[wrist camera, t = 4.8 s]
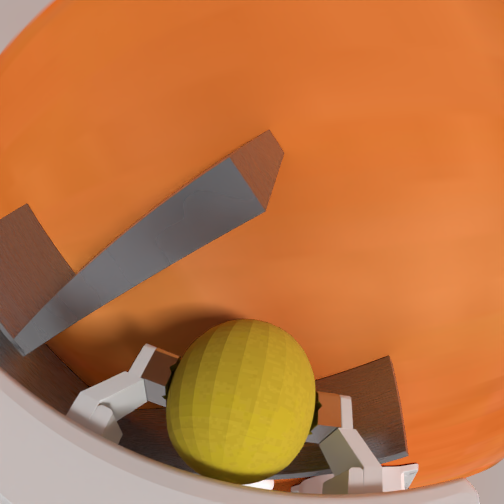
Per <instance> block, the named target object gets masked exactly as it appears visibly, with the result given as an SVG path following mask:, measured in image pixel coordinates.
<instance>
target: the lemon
mask: <svg viewBox="0 0 504 504" xmlns="http://www.w3.org/2000/svg"><path fill="white" fill-rule="evenodd" d="M314 409H315V379H314V374H313V370H312V367H311V365H310V362H309V360H308V358H307V356H306V354H305V352H304V350H303V349H302V347H301V346H300V345H299V344H298V343H297V341H296V340H295V339H294V338H293V337H292V336H291V335H290V334H288V333H287V332H285V331H284V330H282V329H281V328H280V327H277V326H275V325H273V324H270V323H268V322H264V321H259V320H254V319H239V320H232V321H227V322H224V323H222V324H219V325H217V326H214V327H212V328H210V329H209V330H208V331H206V332H205V333H204V334H202V335H201V336H200V337H199V338H197V339H196V340H195V341H194V342H193V343H192V344H191V345H190V347H189V348H188V349H187V351H186V352H185V354H184V356H183V357H182V359H181V361H180V362H179V364H178V366H177V368H176V370H175V372H174V375H173V377H172V380H171V384H170V387H169V392H168V398H167V407H166V419H167V430H168V434H169V438H170V440H171V442H172V445H173V447H174V448H175V450H176V451H177V453H178V454H179V456H180V457H181V458H182V460H183V461H184V462H185V463H186V464H187V465H188V466H189V467H190V468H192V469H193V470H194V471H195V472H197V473H198V474H200V475H201V476H205V477H209V478H213V479H217V480H221V481H225V482H230V483H234V484H239V485H245V484H252V483H256V482H260V481H262V480H265V479H267V478H270V477H272V476H274V475H275V474H277V473H279V472H281V471H282V470H283V469H284V468H286V467H287V466H288V465H289V464H290V463H291V462H292V461H293V460H294V458H295V457H296V456H297V455H298V453H299V452H300V450H301V449H302V447H303V445H304V443H305V441H306V439H307V436H308V434H309V431H310V428H311V424H312V421H313V416H314Z"/></svg>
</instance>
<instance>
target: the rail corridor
mask: <svg viewBox="0 0 504 504" xmlns="http://www.w3.org/2000/svg"><path fill="white" fill-rule="evenodd" d="M283 155H284V152H283V150H282V149H281V147H280V146H279V144H278V142H277V141H276V139H275V138H274V136H273V135H272V133H271V132H270V130H268V131H266V132H264V133H263V134H261V135H259V136H258V137H256V138H255V139H253V140H251V141H250V142H248V143H246V144H245V145H243V146H242V147H240V148H239V149H237V150H235V151H234V152H232V153H231V154H229V155H228V156H226V157H225V158H223V159H222V160H220V161H219V162H217V163H216V164H214V165H213V166H211V167H210V168H208V169H207V170H205V171H204V172H202V173H201V174H199V175H198V176H197V177H195V178H194V179H192V180H191V181H189V182H188V183H187V184H185V185H184V186H182V187H181V188H180V189H178V190H177V191H176V192H174V193H173V194H171V195H170V196H169V197H167V198H166V199H165V200H163V201H162V202H161V203H159V204H158V205H157V206H156V207H154V208H153V209H152V210H150V211H149V212H148V213H146V214H145V215H144V216H143V217H141V218H140V219H139V220H138V221H136V222H135V223H134V224H133V225H131V226H130V227H129V228H128V229H127V230H125V231H124V232H123V233H122V234H120V235H119V236H118V237H117V238H116V239H115V240H113V241H112V242H111V243H110V244H109V245H107V246H106V247H105V248H104V249H103V250H102V251H101V252H99V253H98V254H97V255H96V256H95V257H94V258H93V259H92V260H90V261H89V262H88V263H87V264H86V265H85V266H84V267H83V268H82V269H81V270H79V271H78V272H77V273H76V274H75V273H74V272H73V270H72V269H71V268H70V266H69V265H68V264H67V262H66V261H65V260H64V258H63V257H62V256H61V254H60V253H59V252H58V250H57V249H56V247H55V246H54V244H53V243H52V242H51V240H50V239H49V237H48V236H47V234H46V233H45V231H44V230H43V228H42V227H41V225H40V223H39V222H38V220H37V219H36V217H35V216H34V214H33V212H32V211H31V209H30V207H29V206H28V204H25V205H23V206H22V207H20V208H18V209H17V210H15V211H13V212H12V213H10V214H8V215H7V216H5V217H3V218H2V219H0V367H1V368H2V369H3V370H5V371H6V372H7V373H8V374H9V375H10V376H12V377H13V378H14V379H15V380H16V381H18V382H19V383H20V384H21V385H23V386H24V387H25V388H27V389H28V390H29V391H30V392H32V393H33V394H34V395H36V396H37V397H39V398H40V399H41V400H43V401H44V402H46V403H47V404H48V405H50V406H51V407H53V408H54V409H56V410H57V411H59V412H61V413H62V414H64V415H65V416H66V414H67V413H68V411H69V409H70V408H71V406H72V405H73V403H74V401H75V400H76V398H77V397H78V395H79V393H80V392H81V391H83V390H86V389H88V388H90V387H89V386H87V385H86V384H85V383H84V382H83V381H82V380H81V379H80V378H79V377H77V376H76V375H75V374H74V373H73V372H72V371H71V370H70V369H69V368H68V367H67V366H66V365H65V364H64V363H63V362H62V361H61V360H60V359H59V358H58V357H57V356H56V355H55V354H54V353H53V352H52V351H51V350H50V349H49V348H48V346H47V345H46V344H45V342H46V341H48V340H49V339H51V338H52V337H54V336H55V335H57V334H59V333H60V332H62V331H63V330H65V329H66V328H68V327H70V326H71V325H73V324H74V323H76V322H77V321H79V320H81V319H82V318H84V317H85V316H87V315H89V314H90V313H92V312H93V311H95V310H97V309H98V308H100V307H101V306H103V305H105V304H106V303H108V302H109V301H111V300H113V299H114V298H116V297H118V296H119V295H121V294H123V293H124V292H126V291H128V290H129V289H131V288H132V287H134V286H136V285H137V284H139V283H141V282H142V281H144V280H146V279H148V278H149V277H151V276H153V275H154V274H156V273H158V272H159V271H161V270H163V269H164V268H166V267H168V266H170V265H171V264H173V263H175V262H176V261H178V260H180V259H182V258H183V257H185V256H187V255H188V254H190V253H192V252H194V251H195V250H197V249H199V248H201V247H202V246H204V245H206V244H208V243H209V242H211V241H213V240H215V239H216V238H218V237H220V236H222V235H224V234H225V233H227V232H229V231H231V230H232V229H234V228H236V227H238V226H240V225H241V224H243V223H245V222H247V221H249V220H250V219H252V218H254V217H256V216H258V215H260V214H261V213H263V212H265V211H266V208H267V205H268V202H269V199H270V196H271V193H272V189H273V186H274V183H275V180H276V177H277V174H278V171H279V168H280V165H281V162H282V159H283ZM316 391H320V392H327V393H334V394H338V395H346V396H350V397H351V402H352V418H353V429H356V430H357V431H358V433H359V434H360V436H361V437H362V439H363V440H364V442H365V443H366V444H367V446H368V447H369V449H370V450H371V452H372V453H373V455H374V456H375V457H376V459H377V460H378V462H379V463H380V464H382V463H386V462H389V461H393V460H396V459H400V458H403V457H406V456H408V448H407V440H406V433H405V426H404V420H403V414H402V408H401V403H400V397H399V392H398V387H397V382H396V377H395V373H394V368H393V364H392V362H391V359H390V357H389V356H387V357H384V358H382V359H379V360H377V361H374V362H371V363H369V364H366V365H363V366H360V367H357V368H354V369H352V370H349V371H346V372H342V373H339V374H336V375H333V376H330V377H326V378H323V379H320V380H316V381H315V392H316ZM117 423H118V425H119V427H120V429H121V431H122V434H123V435H122V437H121V439H120V441H119V443H118V445H120V446H122V447H125V448H127V449H129V450H131V451H134V452H136V453H138V454H141V455H143V456H146V457H148V458H151V459H153V460H156V461H158V462H161V463H164V464H167V465H169V466H172V467H175V468H178V469H181V470H185V471H188V472H191V473H194V474H198V473H197V472H195V471H194V470H193V469H192V468H190V467H189V466H188V465H187V464H186V463H185V462H184V461H183V460H182V458H181V457H180V456H179V454H178V453H177V451H176V450H175V448H174V447H173V445H172V442H171V440H170V438H169V434H168V430H167V419H166V408H159V409H142V410H133V411H132V412H130V413H129V414H127V415H126V416H124V417H122V418H121V419H119V420H118V421H117ZM327 474H333V472H332V470H331V468H330V466H329V464H328V462H327V460H326V458H325V456H324V454H323V452H322V450H321V448H320V446H319V444H317V443H310V442H305V443H304V445H303V447H302V449H301V450H300V452H299V453H298V455H297V456H296V457H295V458H294V460H293V461H292V462H291V463H290V464H289V465H288V466H287V467H286V468H284V469H283V470H282V471H281V472H279V473H277V474H275V475H274V476H272V477H270V478H267V479H265V480H274V479H291V478H303V477H312V476H320V475H327ZM198 475H200V474H198Z"/></svg>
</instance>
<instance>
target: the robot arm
mask: <svg viewBox="0 0 504 504" xmlns="http://www.w3.org/2000/svg"><path fill="white" fill-rule="evenodd" d="M180 361H181V356H179V355H176V354H173V353H171V352H168V351H165V350H163V349H160V348H158V347H155V346H152V345H150V344H147V343H146V344H145V345H144V346H143V347H142V349H141V351H140V352H139V354H138V356H137V358H136V359H135V361H134V363H133V364H132V366H131V368H130V370H129V371H128V372H126V371H124V372H122V373H120V374H118V375H115V376H113V377H111V378H109V379H107V380H105V381H103V382H101V383H99V384H96V385H94V386H92V387H90V388H88V389H86V390H83V391H81V392H80V393H79V395H78V397H77V398H76V400H75V401H74V403H73V405H72V406H71V408H70V409H69V411H68V413H67V414H66V416H65V415H64V414H62V413H61V412H59V411H57V410H56V409H54V408H53V407H51V406H50V405H48V404H47V403H46V402H44V401H43V400H41V399H40V398H39V397H37V396H36V395H34V394H33V393H32V392H30V391H29V390H28V389H27V388H25V387H24V386H23V385H21V384H20V383H19V382H18V381H16V380H15V379H14V378H13V377H12V376H10V375H9V374H8V373H7V372H6V371H5V370H3V369H2V368H1V367H0V504H480V500H479V495H478V492H477V491H476V489H475V488H474V487H473V486H472V484H471V483H470V482H469V481H468V480H467V479H466V478H458V479H454V480H450V481H446V482H442V483H438V484H433V485H428V486H423V487H418V488H412V489H409V488H408V487H409V486H410V484H411V482H412V481H413V479H414V477H415V475H416V473H417V471H418V464H411V465H405V466H398V467H382V466H381V465H380V463H379V462H378V460H377V459H376V457H375V456H374V455H373V453H372V452H371V450H370V449H369V447H368V446H367V444H366V443H365V442H364V440H363V439H362V437H361V436H360V434H359V433H358V431H357V430H356V429H353V418H352V402H351V397H350V396H346V395H338V394H334V393H327V392H320V391H316V392H315V409H314V416H313V421H312V424H311V428H310V431H309V434H308V436H307V439H306V441H305V442H310V443H317V444H319V446H320V448H321V450H322V452H323V454H324V456H325V458H326V460H327V462H328V464H329V466H330V468H331V470H332V472H333V474H327V475H320V476H316V477H312V478H309V479H306V480H304V481H302V482H301V484H299V485H296V486H293V487H291V492H285V491H276V490H269V489H262V488H256V487H250V486H244V485H239V484H234V483H230V482H225V481H221V480H217V479H213V478H209V477H205V476H201V475H198V474H194V473H191V472H188V471H185V470H181V469H178V468H175V467H172V466H169V465H167V464H164V463H161V462H158V461H156V460H153V459H151V458H148V457H146V456H143V455H141V454H138V453H136V452H134V451H131V450H129V449H127V448H125V447H122V446H120V445H118V443H119V441H120V439H121V437H122V435H123V434H122V431H121V429H120V427H119V425H118V423H117V421H118V420H119V419H121V418H122V417H124V416H126V415H127V414H129V413H130V412H132V411H133V410H135V409H137V408H138V407H140V406H141V405H143V404H144V403H146V402H147V401H150V402H153V403H156V404H158V405H161V406H164V407H166V406H167V398H168V392H169V387H170V384H171V380H172V377H173V375H174V372H175V370H176V368H177V366H178V364H179V362H180Z"/></svg>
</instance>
